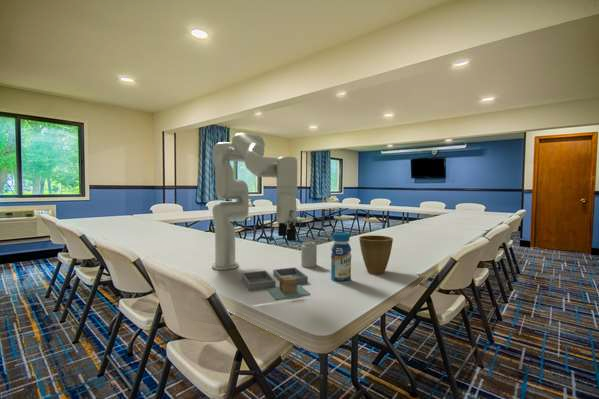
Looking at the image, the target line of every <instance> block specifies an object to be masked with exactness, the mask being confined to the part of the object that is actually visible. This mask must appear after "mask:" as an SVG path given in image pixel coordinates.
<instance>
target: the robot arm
mask: <svg viewBox="0 0 599 399" xmlns="http://www.w3.org/2000/svg"><path fill="white" fill-rule="evenodd" d="M265 145H266V144H265V140H264V138H263V137H262V136H260V135H259V134H253V133H246V132H239V133H235V135H234V136H233V137H232V139H231V142H229V141H227V142H226V141H222V142H218V143H217V142H216V144H214V146H213V148H212V155H211V156H212V162H213V166H214V169H215V170H214V172H215V174H214V175H215V176H214V178H215V195H216V197H217V198H218V199H222V200H235V201H220V202H216V203H215V204H214V206H213V208H212V216H213V221H214V249H215V250H214V254H215V255H214V256H215V257H214V259H215V260H214V263H212V264H211V268H212V269H214V270H217V271H219V270H220V271H228V270H233V269H237V268H239V265H240V264H239V262H238V261H236V229H235V227H234V225H233V224H232V222H236V221H237V222H238V221H244V220H246V219H247V218H248V216H249V210H250V209H249V208H250V206H249V203H250V202H249V197H250V196H249V187H248V184H247V182H246V181H244V180H242V179H235V177H234V173H235V172H234V168H233V166H232V165H231V163H230V162H238V163H239V162H240V163H244V164H245V167H246V169H247V170H248V171H249V172H250V173H252V174H253V175H254V176H256V177H259V178H273V179H274V178H275V179H276V196H277V198H276V211H275V212H276V213H275V215H276V216H275V220H276V221H277V222H278V223H277V224H278V228H277V229H278V234H277V236H278V237H286V241H288V242H289V241H296V240H297V221H298V217H297V215H298V214H297V212H298V211H297V196H298V159H297V158H296V157H295V156H280V157H271V156H264V155H265V147H266V146H265Z"/></svg>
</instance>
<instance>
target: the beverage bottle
mask: <svg viewBox="0 0 599 399" xmlns="http://www.w3.org/2000/svg"><path fill="white" fill-rule="evenodd" d="M350 237H351V236H350V233H349V232H346V231H335V232H333V234H332V240H333V241H332V242H333V244H332V246H331V248H330V251H331V253H330V260H331V262H330V263H331V264H330V265H331V268H330V271H331V273H330V279H331V281H332V282H334V283H338V284H349V283H350V282H351V281H352V275H351V274H352V253H351V251H352V248H351V245H350V243H349V242H350Z"/></svg>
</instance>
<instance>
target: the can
mask: <svg viewBox="0 0 599 399" xmlns="http://www.w3.org/2000/svg"><path fill="white" fill-rule="evenodd" d="M300 248H301V250H300V251H301V253H300V254H301V261H300V262H301V263H300V264H301V267H304V268H306V269H310V268H311V269H312V268H315V267H317V261H318V258H317V254H318V251H317V250H318V248H317V244H316V242H314V241H304V242H302V245H301V247H300Z"/></svg>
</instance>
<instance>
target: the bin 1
mask: <svg viewBox="0 0 599 399" xmlns="http://www.w3.org/2000/svg"><path fill="white" fill-rule="evenodd" d="M241 280H242V281H243V283H244V286H245V287H246V288H247V290H248V291H249V292H250V291H251V292H252V291H257V290H265V289H266V290H267V288H273V287H276V280H275V278H274V277H273V276H271V274H270V273H269V272H268V271H267V270H259V271H251V272H250V271H249V272H242V273H241Z"/></svg>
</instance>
